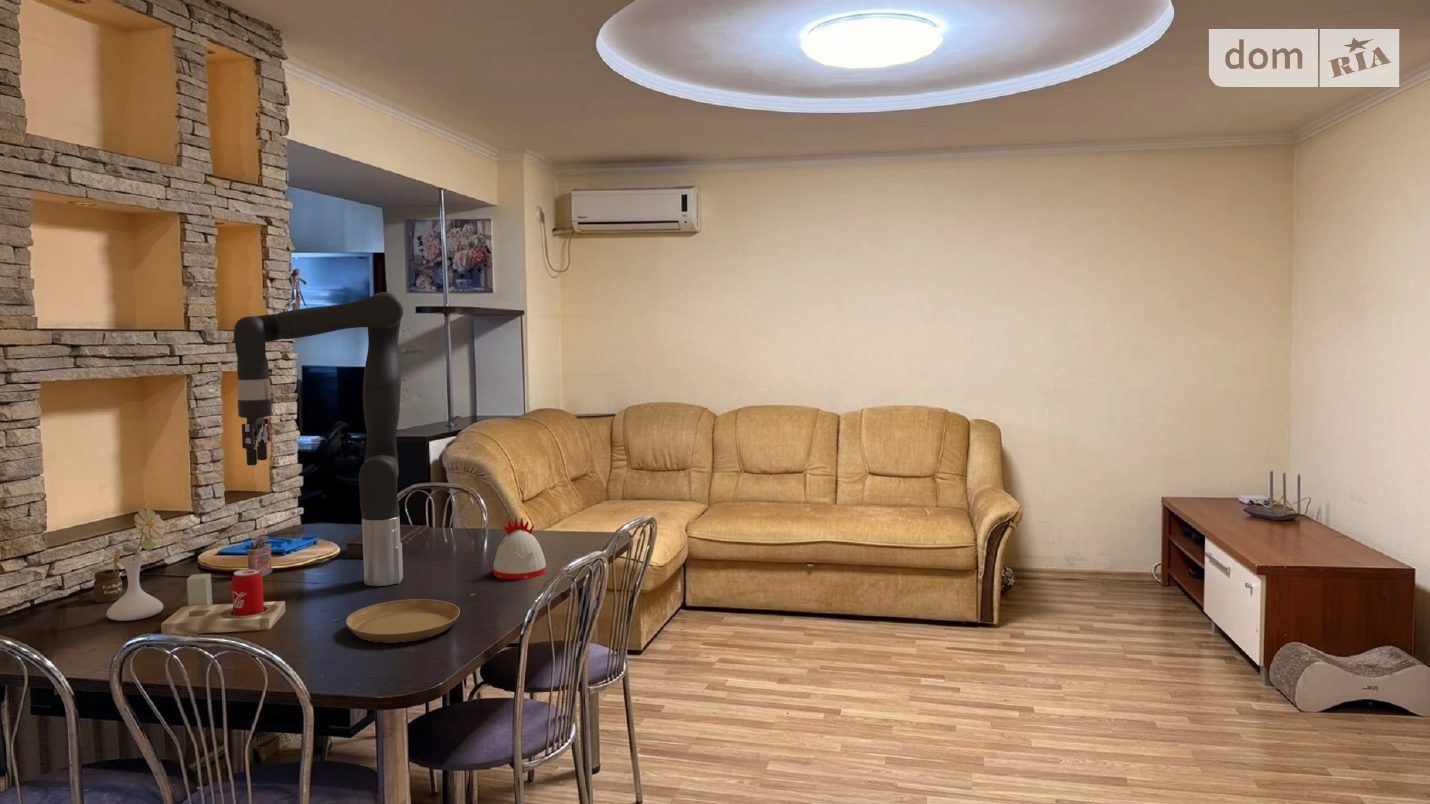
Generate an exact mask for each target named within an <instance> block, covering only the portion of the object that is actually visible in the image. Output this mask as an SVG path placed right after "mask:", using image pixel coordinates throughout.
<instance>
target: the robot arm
mask: <svg viewBox="0 0 1430 804" xmlns="http://www.w3.org/2000/svg"><path fill="white" fill-rule="evenodd" d="M403 315H404V306H403V304H402V301H401V300H400V298H398V296H396V295H395V294H393V293H390V292H385V291H382V292H377V293H374V294H373V295H371V296H368V297H365V298H362V299H359V300H355V301H351V302H347V303H346V302H345V303H341V304H333V305H326V306H325V305H324V306H315V307H314V306H311V307H306V308H297V309H291V310H285V311H281V312H278V313H270V314H264V315H263V314H262V315H255V316H254V315H253V316H243V317H241V318H240V319H238V320H237V321H236V323H235V324H234V328H233V339H234V340H233V341H234V348H235V352H236V357H237V363H236V364H237V365H236V370H237V371H236V372H237V385H236V395H237V415H238V417H239V418H242V419H246V423H241V442H242V443H241V447H242V449H244V450H245V452H246V454H245V455H246V465H247V466H256V465H257V464H258V461H266V460H268V446H267V445H268V444H269V442H270V441H271V436H270V423H269V421H270V420H269V418H268V417H271V416H272V414H273V410H272V409H273V408H272V389H271V383H270V382H271V381H270V371H269V361H268V358H267V355H266V343H271V342H276V341H279V340H280V341H281V340H295V339H299V338H301V339H302V338H305V337H313V336H317V335H322V334H327V333H331V332H335V331H341V330H348V329H355V328H367V336H368V337H367V338H368V342H367V343H368V346H367V353H366V360H365V365H364V372H363V379H362V380H363V382H362V384H363V385H362V386H363V387H362V406H363V407H362V408H363V416H364V423H365V428H366V448H365V455H364V456H365V457H364V462H363V464H362V465H361V467H360V469H359V473H358V487H359V489H358V491H359V504H360V505H359V506H360V509H361V527H362V528H361V529H362V532H363V558H362V559H363V581H364V584H365V585H366V586H371V587H382V586H383V587H384V586H390V585H396V584H397V585H398V584H400V583H401V582H402V580H403V579H404V567H403V558H402V555H403V553H402V543H401V542H400V525H401V524H400V522H401V521H400V505H399V497H398V496H399V494H398V493H399V492H398V478H399V473H400V470H399V469H400V468H399V461H398V459H399V458H398V449H397V448H398V447H397V431H398V426H399V418H400V409H401V394H402V393H401V392H402V391H401V389H402V387H401V386H402V381H401V379H402V378H401V367H400V366H401V365H400V358H399V336H400V335H399V334H400V328H401V322H402V321H401V320H402V318H403Z"/></svg>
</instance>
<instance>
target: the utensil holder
mask: <svg viewBox="0 0 1430 804" xmlns="http://www.w3.org/2000/svg"><path fill="white" fill-rule="evenodd" d="M120 554H121V549H120V548H115V551H114V555H113V562H114V564H113V565H114V566H113V569H103V570H102V569H101V570H100V569H99V566H98V565H100V567H104V565H106V564H105V561H104V558H103V559H102V558H101V557H96V558H94V560H92V562H94V563H92V566H93V568H94V570H95V573H94V579H95V580H94V582H93V596H94V597H93V598H94V601H95V602H96V603H98V604H99V603H102V604H103V603H104V604H105V603H112V602H116V601H118V600H119V599H120V598H121V597H122V596H123V581H122V578H121V577H120V573H121V572H120V570H119V569H116V567H117V563H118V562H120V561H119V560H120V556H121V555H120ZM95 560H98V561H99V562H96V561H95ZM98 563H100V564H98ZM101 565H102V566H101ZM97 569H99V570H97Z"/></svg>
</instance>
